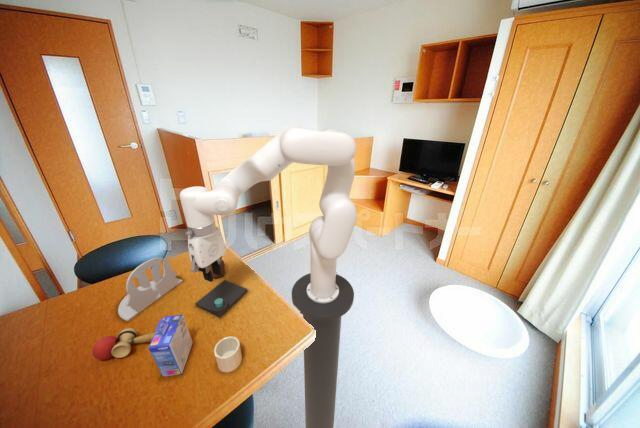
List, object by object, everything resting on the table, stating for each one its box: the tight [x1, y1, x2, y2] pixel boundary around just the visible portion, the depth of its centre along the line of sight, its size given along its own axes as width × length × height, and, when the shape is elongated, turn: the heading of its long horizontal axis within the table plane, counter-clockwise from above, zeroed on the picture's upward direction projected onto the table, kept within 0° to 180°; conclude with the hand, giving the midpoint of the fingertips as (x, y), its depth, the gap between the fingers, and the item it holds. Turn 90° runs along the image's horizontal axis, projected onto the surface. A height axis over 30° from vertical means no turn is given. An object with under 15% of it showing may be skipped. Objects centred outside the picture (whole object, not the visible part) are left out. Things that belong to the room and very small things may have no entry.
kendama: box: [91, 327, 157, 361], centre depth 71 cm, size 8×6×18 cm
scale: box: [195, 279, 249, 318], centre depth 89 cm, size 14×12×3 cm
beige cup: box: [213, 335, 243, 373], centre depth 67 cm, size 7×7×6 cm
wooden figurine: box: [209, 258, 226, 279], centre depth 99 cm, size 7×6×15 cm
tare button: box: [214, 298, 224, 308], centre depth 83 cm, size 3×3×2 cm
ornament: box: [117, 257, 184, 322], centre depth 88 cm, size 22×13×17 cm, turn 159°
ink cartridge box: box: [148, 314, 194, 377], centre depth 66 cm, size 10×6×14 cm, turn 10°
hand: (213, 276), depth 78 cm, fingers closed
